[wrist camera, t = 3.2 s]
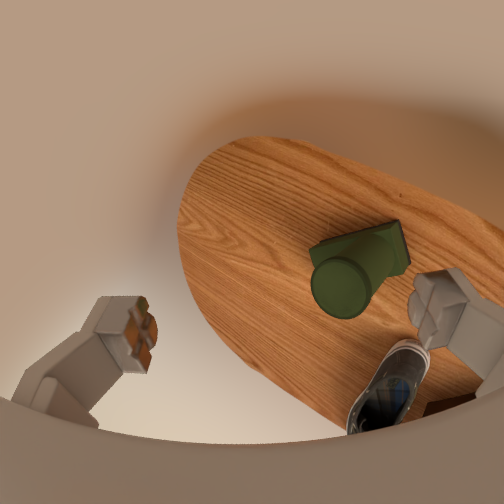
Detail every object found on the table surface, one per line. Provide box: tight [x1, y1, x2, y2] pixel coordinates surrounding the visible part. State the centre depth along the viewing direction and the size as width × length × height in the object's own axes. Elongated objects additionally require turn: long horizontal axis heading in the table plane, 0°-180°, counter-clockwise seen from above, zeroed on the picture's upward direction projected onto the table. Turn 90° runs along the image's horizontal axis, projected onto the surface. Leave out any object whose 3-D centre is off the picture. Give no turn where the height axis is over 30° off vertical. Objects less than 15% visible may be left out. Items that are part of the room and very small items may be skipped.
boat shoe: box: [346, 339, 430, 435], centre depth 35 cm, size 26×9×8 cm, turn 173°
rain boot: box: [309, 219, 411, 319], centre depth 30 cm, size 11×6×13 cm, turn 118°
